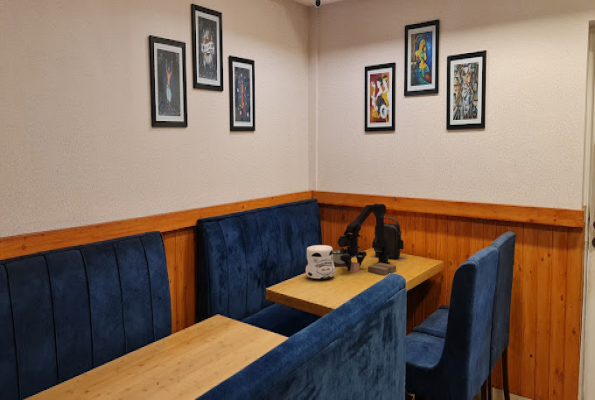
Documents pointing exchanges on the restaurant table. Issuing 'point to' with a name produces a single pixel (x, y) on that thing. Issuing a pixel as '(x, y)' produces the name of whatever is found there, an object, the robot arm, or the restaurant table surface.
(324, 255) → the milk container
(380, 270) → the walnut block
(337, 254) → the food container
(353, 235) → the robot arm
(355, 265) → the terracotta cube
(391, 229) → the shoulder bag
